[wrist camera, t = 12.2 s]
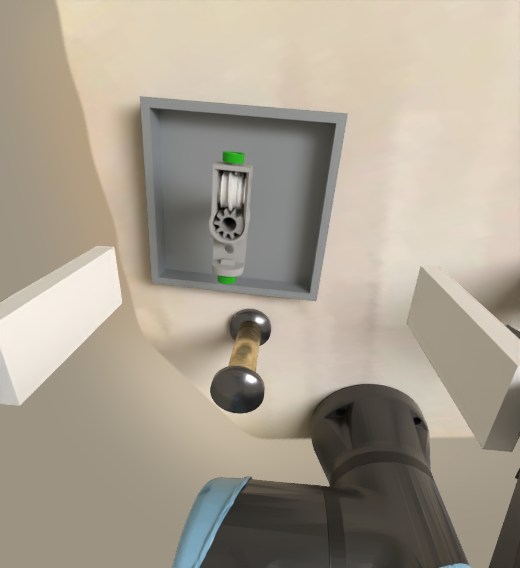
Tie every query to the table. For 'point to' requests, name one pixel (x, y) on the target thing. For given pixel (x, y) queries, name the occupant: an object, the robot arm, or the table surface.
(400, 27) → the table surface
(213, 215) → the mechanical component
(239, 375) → the bobbin
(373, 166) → the table surface
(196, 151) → the parts tray
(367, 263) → the table surface
